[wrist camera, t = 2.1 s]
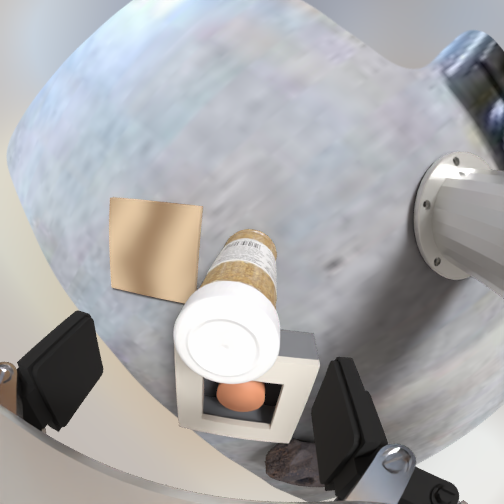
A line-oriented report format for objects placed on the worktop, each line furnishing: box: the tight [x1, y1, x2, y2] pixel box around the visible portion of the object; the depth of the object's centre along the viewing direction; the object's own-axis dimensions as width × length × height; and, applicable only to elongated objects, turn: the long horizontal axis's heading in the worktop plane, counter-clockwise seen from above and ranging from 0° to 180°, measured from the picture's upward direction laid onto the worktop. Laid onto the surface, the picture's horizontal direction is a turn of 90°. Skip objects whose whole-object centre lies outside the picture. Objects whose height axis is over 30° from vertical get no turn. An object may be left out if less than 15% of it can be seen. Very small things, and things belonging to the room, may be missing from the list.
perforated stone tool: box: [265, 439, 325, 487], centre depth 28 cm, size 15×5×7 cm, turn 55°
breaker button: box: [216, 381, 265, 412], centre depth 24 cm, size 5×5×2 cm
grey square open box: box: [174, 330, 320, 443], centre depth 25 cm, size 12×12×5 cm
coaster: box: [109, 197, 203, 303], centre depth 24 cm, size 9×9×1 cm
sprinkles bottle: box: [173, 229, 280, 384], centre depth 17 cm, size 5×5×13 cm
